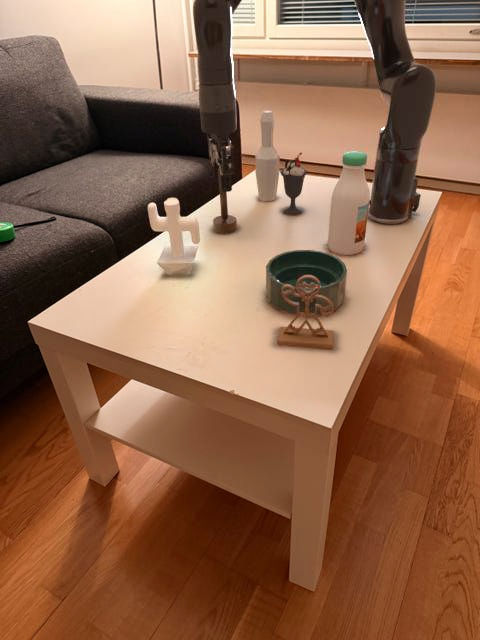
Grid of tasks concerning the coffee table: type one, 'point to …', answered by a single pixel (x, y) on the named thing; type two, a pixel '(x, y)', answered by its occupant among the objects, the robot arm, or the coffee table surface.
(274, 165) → the low poly bottle
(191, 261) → the figurine
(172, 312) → the coffee table surface
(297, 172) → the sundae
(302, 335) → the gingerbread man figurine
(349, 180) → the milk bottle
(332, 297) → the bowl
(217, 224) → the wooden peg stand
